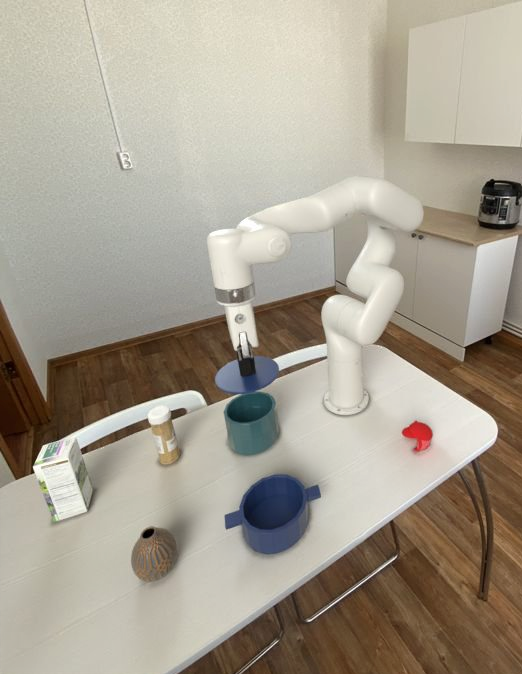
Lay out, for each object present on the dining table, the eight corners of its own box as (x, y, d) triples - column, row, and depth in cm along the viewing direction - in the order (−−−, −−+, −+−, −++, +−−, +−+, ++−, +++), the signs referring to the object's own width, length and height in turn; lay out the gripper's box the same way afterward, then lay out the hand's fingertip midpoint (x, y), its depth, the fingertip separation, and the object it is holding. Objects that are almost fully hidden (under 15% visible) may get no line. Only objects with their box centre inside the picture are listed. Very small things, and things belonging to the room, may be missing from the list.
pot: (247, 415, 102) (243, 387, 99) (287, 425, 99) (284, 396, 96) (218, 448, 92) (212, 418, 89) (261, 460, 88) (257, 429, 85)
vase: (134, 597, 62) (121, 561, 59) (138, 557, 68) (127, 522, 65) (180, 578, 65) (170, 543, 62) (180, 541, 71) (171, 507, 68)
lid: (214, 367, 87) (209, 342, 84) (273, 355, 91) (270, 330, 89) (217, 403, 75) (211, 375, 73) (284, 386, 80) (281, 359, 77)
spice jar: (182, 459, 89) (171, 412, 84) (160, 468, 86) (148, 420, 82) (178, 447, 92) (168, 401, 88) (158, 455, 90) (145, 409, 85)
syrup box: (62, 499, 79) (40, 444, 74) (95, 489, 82) (76, 435, 76) (53, 523, 75) (29, 466, 69) (89, 511, 77) (68, 456, 72)
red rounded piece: (419, 430, 96) (420, 410, 94) (437, 443, 92) (438, 423, 90) (396, 445, 92) (396, 425, 90) (414, 460, 87) (415, 440, 85)
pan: (226, 509, 77) (222, 489, 75) (313, 482, 82) (311, 462, 81) (230, 571, 66) (225, 549, 64) (329, 534, 72) (328, 513, 70)
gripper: (260, 303, 70) (271, 387, 77) (249, 275, 84) (259, 348, 91) (217, 311, 68) (232, 396, 74) (214, 281, 82) (226, 355, 88)
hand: (247, 369), depth 83 cm, fingers closed on lid, 2 cm apart
